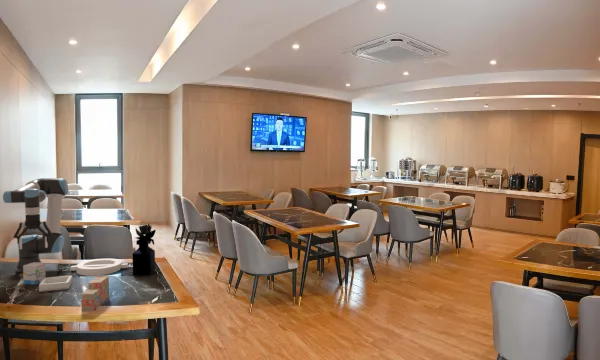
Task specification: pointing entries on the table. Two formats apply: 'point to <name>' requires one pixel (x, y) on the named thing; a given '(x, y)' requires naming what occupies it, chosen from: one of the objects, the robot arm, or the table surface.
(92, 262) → the ring with crossbar
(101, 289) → the stack of blocks
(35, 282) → the ink box
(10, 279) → the table surface
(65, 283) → the box
